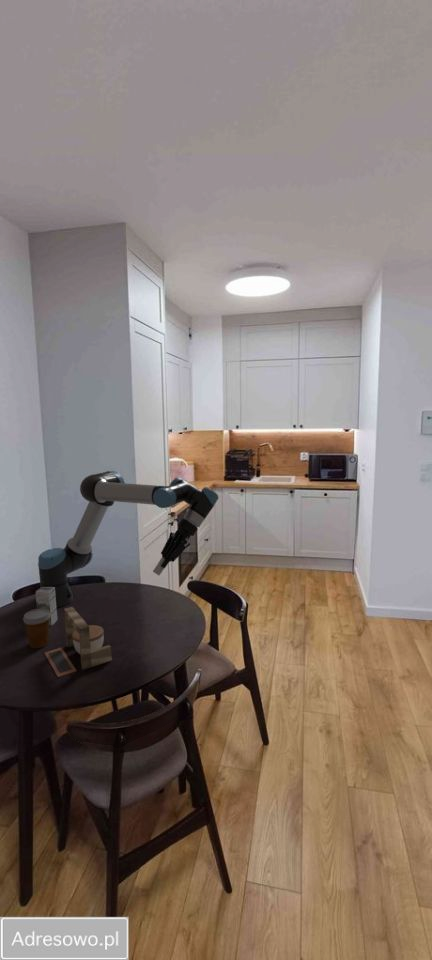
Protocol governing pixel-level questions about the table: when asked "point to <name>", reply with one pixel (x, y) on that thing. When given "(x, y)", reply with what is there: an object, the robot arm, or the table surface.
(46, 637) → the disposable coffee cup
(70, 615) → the tunnel
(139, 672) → the table surface
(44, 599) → the syrup box
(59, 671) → the framed chalkboard
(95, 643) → the lidded jar
